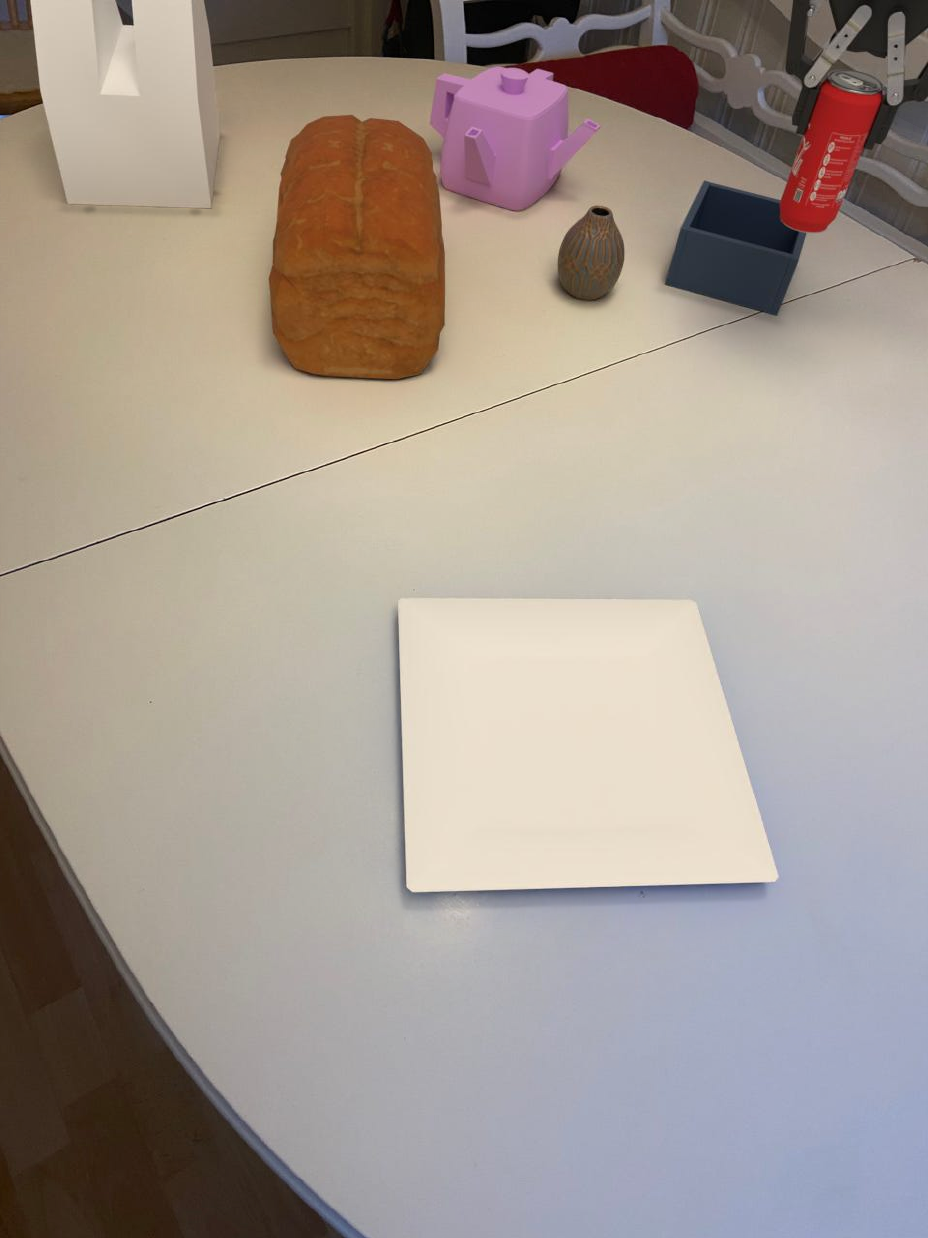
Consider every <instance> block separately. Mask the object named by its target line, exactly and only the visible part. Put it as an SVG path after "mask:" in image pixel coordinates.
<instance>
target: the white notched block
mask: <svg viewBox="0 0 928 1238" xmlns="http://www.w3.org/2000/svg"><path fill="white" fill-rule="evenodd" d="M131 7H132V8H131V9H132V20H133V25H129V24H123V20H122V18H121V17H122V16H121V15H120V11H119V8H118V5H117V1H116V0H30V9H31V16H32V17H31V19H32V28H33V36H34V37H33V38H34V46H35V54H36V63H37V73H38V82H39V90H40V91H39V92H40V95H41V99H42V104H43V108H44V112H45V115H46V120H47V124H48V129H49V132H50V136H51V140H52V144H53V145H52V146H53V149H54V153H55V157H56V161H57V165H58V169H59V174H60V178H61V182H62V185H63V189H64V190H63V191H64V195H65V199H66V202H67V205H89V206H90V205H94V206H119V207H120V206H121V207H122V206H124V207H126V206H127V207H150V208H151V207H152V208H154V207H155V208H185V209H187V208H188V209H212V205H213V198H214V197H213V196H214V188H215V180H216V173H217V164H218V155H219V147H220V139H221V138H220V137H221V128H220V116H219V109H218V99H217V89H216V81H215V71H214V62H213V54H212V44H211V43H212V42H211V35H210V28H209V22H208V17H207V11H206V5H205V0H131Z"/></svg>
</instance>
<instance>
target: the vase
mask: <svg viewBox="0 0 928 1238" xmlns="http://www.w3.org/2000/svg"><path fill="white" fill-rule="evenodd" d="M625 254H626V253H625V243H624V239H623V236H622V233H621V232H620V230H619V228H618V226H617V223H616V222H615V219H614V214H613V211H612V210H611V209H610V208H608V207H606V206H604V205H593V206H591V207H589V209H587V211H586V213H585V214H584V215H583V216H582V217H581V218H580V219H578V220H577V222H575V223H574V224H573V225H572V226H571V227H570V228H569V229H568V231H567V232H566V233H565V235H564V236H563V239H562V241H561V243H560V246H559V250H558V254H557V262H556V263H557V264H556V265H557V273H558V278H559V281H560V283H561V285H562V286H563V288H564V289H565V291H566V292H567V293H568V294H570V295H571V296H573V297H575V298H577V299H580V300H584V301H585V300H586V301H587V300H588V301H591V300H597V299H600V298H601V297H603V296H604V295H606V294H608V293H609V292H610V291H611V290H613V288H614V287H615V285H616V284H617V282H618V280H619V278H620V277H621V274H622V271H623V268H624V264H625V263H624V262H625Z"/></svg>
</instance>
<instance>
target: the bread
mask: <svg viewBox="0 0 928 1238" xmlns="http://www.w3.org/2000/svg"><path fill="white" fill-rule="evenodd" d="M289 141H290V142H289V145H288V147H287V151H286V152H285V157H284V158H285V160H284V163H283V165H282V167H281V171H280V176H281V177H280V182H279V187H278V198H277V199H278V200H277V211H276V224H275V229H274V230H275V231H274V236H273V239H272V265H271V269H270V271H269V276H268V287H269V296H270V297H269V298H270V311H271V314H270V315H271V328H272V334H273V336H274V338H275V339H276V341H277V342H278V344H279V345H280V347H281V349H282V351H283V352H284V353H285V355H286V357H287V358H288V360H289V361H290V362H291V364H292V366H293V368H294V369H295V370H298V371H303V372H306V373H310V374H313V375H319V376H323V377H339V378H358V379H378V380H379V379H381V380H383V379H384V380H399V379H403V378H408V377H413V376H417V375H420V374H421V373H422V371H423V370H424V369H425V368H426V366H427V365H428V364H429V363H430V361H431V360H432V359H433V358H434V356H435V355H436V353H437V352H438V351H439V347H440V345H439V344H440V337H441V332H442V330H443V329H444V327H445V325H446V324H445V322H446V320H445V319H446V253H445V244H444V239H443V229H442V228H443V221H442V210H441V197H440V189H439V184H438V182H437V181H438V180H437V175H436V174H435V172H434V161H433V152H432V150H431V149H430V146H429V145H428V143H427V142H426V140H425V139H424V137H422V135H420V134H418V133H417V132H415V131H414V130H412V129H411V128H409V126H407V125H405V124H404V123H403V122H401V121H399V120H394V119H386V118H385V119H384V118H377V117H376V118H374V117H370V118H367V119H365V120H361V119H359V118H358V117H356V116H354V115H353V114H342V115H325V116H322V117H319V118H317V119H315V120H313V121H311V122H309V123H307V124H305V126H304V127H303V128H302V129H301V130H300V132H299V133H297V134H296V135H295V136H294V137H292V138H291V139H290V140H289Z"/></svg>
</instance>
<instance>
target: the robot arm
mask: <svg viewBox="0 0 928 1238" xmlns="http://www.w3.org/2000/svg"><path fill="white" fill-rule="evenodd" d="M826 3H828V4H829V8H830V11H831V15H832V19H833V23H834V26H835V30H834V31H833V32H832V33H831V35H830V36H829V37H828V38H827V40H826V41H825V42H824V45H823V47H822V48H821V49H820V50H819V52H818V53H817V55H816V56H815V57H814V58H813V59H812V58H810V57H809V56H807V55H806V54H805V51H806V43H807V36H808V30H809V29H808V28H809V22H810V21H809V20H812V19H815V18H816V17H817V16H818V15H819V11H820V9H821V7H822V6H823V5H824V4H826ZM790 16H791V17H790V24H789V31H788V39H787V41H788V42H787V49H786V57H785V59H786V60H785V66H784V70H785V72H786V73H787V75H790V76H794V77H796V78H797V79H799V80H800V82H801V89H800V93H799V95H798V99H797V102H796V104H795V107H794V111H793V114H792V117H791V125H792V126H795V127H796V131H795V134H796V135H800V136H803V135H804V132H805V129H806V126H807V123H808V121H809V118H810V115H811V112H812V109H813V106H814V103H815V100H816V97H817V95H818V92H819V88H820V85H821V84H822V81H821V80H822V79H823V78H824V77H825V75H826V74H827V72H828V71H830V68H831V67H832V66H833V65H834V64H835V63H836V62H837V61H838V60H839V58H840V57H841V56H842V54H843V53H844V52H845V51H846V52H850V53H856V54H857V53H868V54H870V55H872V56H874V57H876V58H879V59H886V58H887V63H886V64H887V65H886V71H887V72H886V83H887V84H886V93H885V94H883V101H882V103H881V105H880V108H879V111H878V113H877V116H876V118H875V121H874V123H873V126H872V128H871V131H870V133H869V136H868V138H867V141H866V143H865V146H864V148H863V150H864V149H865V150H868V151H873V149H874V148H875V147H874V146H875V145H876V144H877V145H882V144H883V142H884V141H885V140H886V139H887V136H888V134H889V131H890V129H891V127H892V124H893V122H894V119H895V118H896V115H897V112H898V110H899V108H900V107H901V105H902V104H905V103H906V102H913V101H915V102H919V103H921V102H924V101H926V100H927V99H928V60H927V61H926V62H925V65H924V66H923V67H922V69H921V70H920V72H919V74H918V75H917V77H916V78H910V79H906V57H907V56H906V55H907V46H908V45H910V43H912V42H913V41H914V40H915V39H917V38H918V37H919V36H920V35H921V34H923V33H924V32H925V31H926V30H927V29H928V0H792V6H791V15H790Z"/></svg>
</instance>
